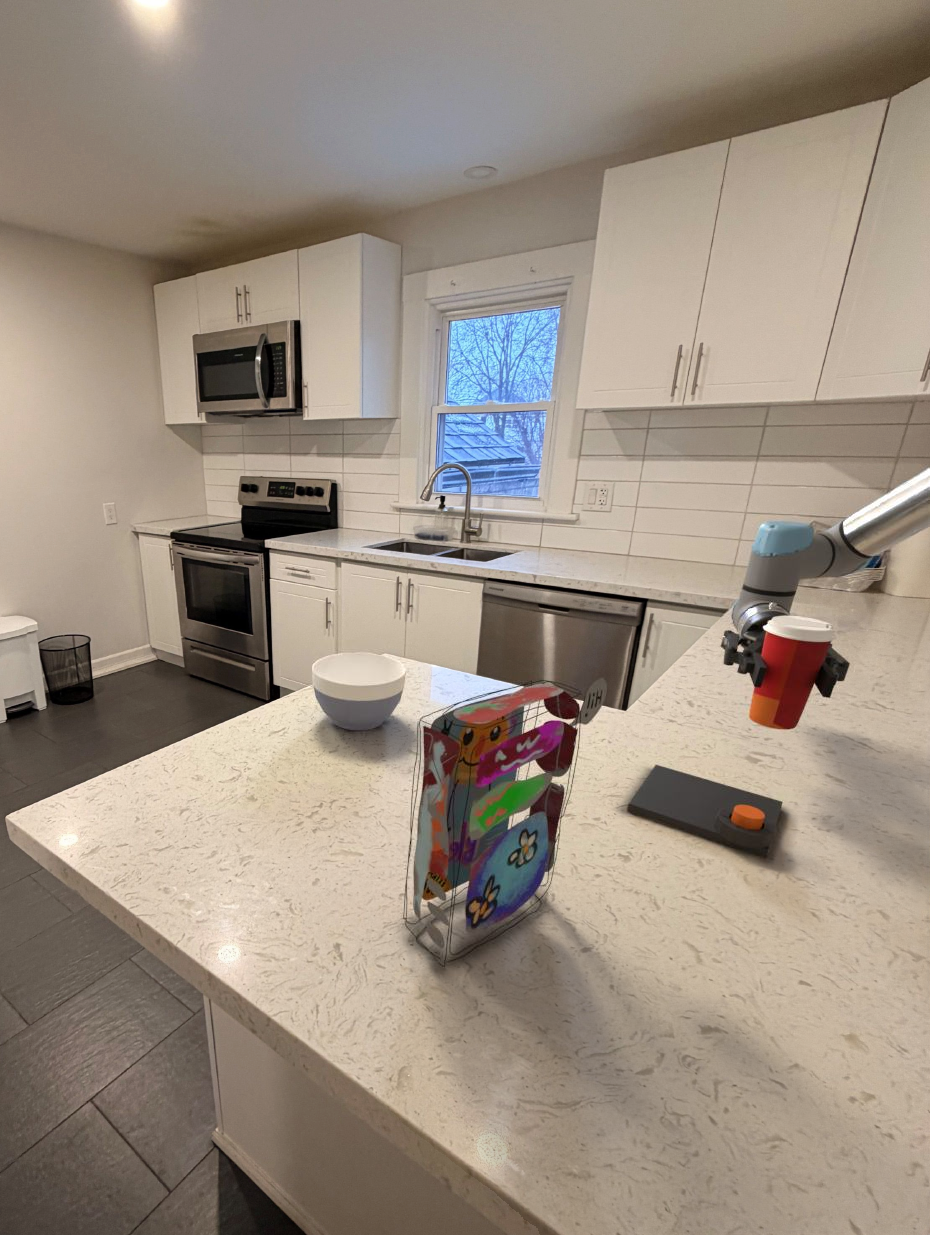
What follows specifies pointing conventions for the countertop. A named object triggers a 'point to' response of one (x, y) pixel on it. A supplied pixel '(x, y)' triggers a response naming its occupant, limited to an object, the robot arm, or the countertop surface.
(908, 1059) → the countertop surface
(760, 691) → the paper cup
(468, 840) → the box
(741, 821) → the tare button
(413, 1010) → the countertop surface
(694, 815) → the scale
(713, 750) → the countertop surface
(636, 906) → the countertop surface
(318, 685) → the bowl
